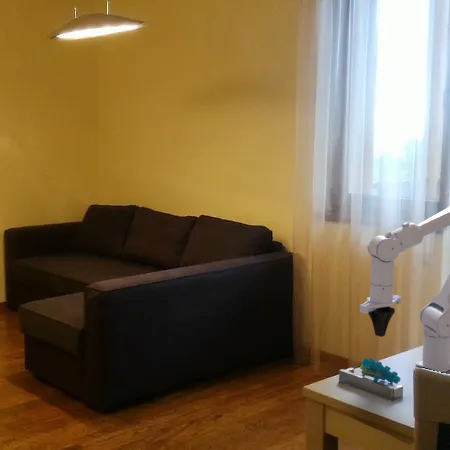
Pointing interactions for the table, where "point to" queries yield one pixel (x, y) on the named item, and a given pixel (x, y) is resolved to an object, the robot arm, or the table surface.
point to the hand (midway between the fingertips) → (379, 335)
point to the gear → (378, 371)
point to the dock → (370, 385)
